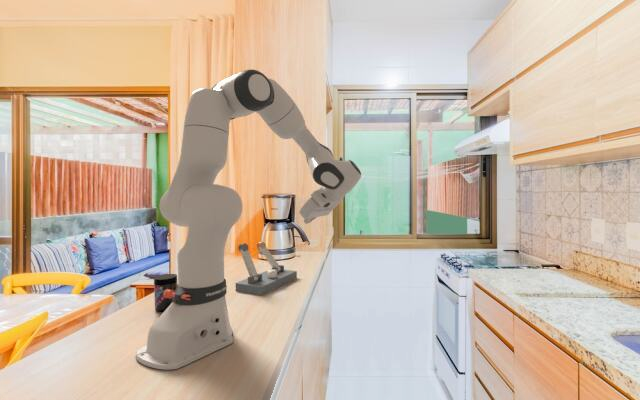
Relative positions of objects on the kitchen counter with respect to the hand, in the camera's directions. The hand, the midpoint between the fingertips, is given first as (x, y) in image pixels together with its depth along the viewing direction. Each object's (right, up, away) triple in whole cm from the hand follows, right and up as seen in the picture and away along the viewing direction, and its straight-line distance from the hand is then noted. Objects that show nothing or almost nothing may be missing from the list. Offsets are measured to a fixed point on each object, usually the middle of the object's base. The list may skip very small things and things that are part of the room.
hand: (306, 222), depth 125 cm
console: (-15, -25, +1) cm, 29 cm away
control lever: (-12, -20, +7) cm, 25 cm away
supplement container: (-44, -26, -24) cm, 56 cm away
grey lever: (-19, -21, -6) cm, 29 cm away
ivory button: (-13, -22, -1) cm, 25 cm away
